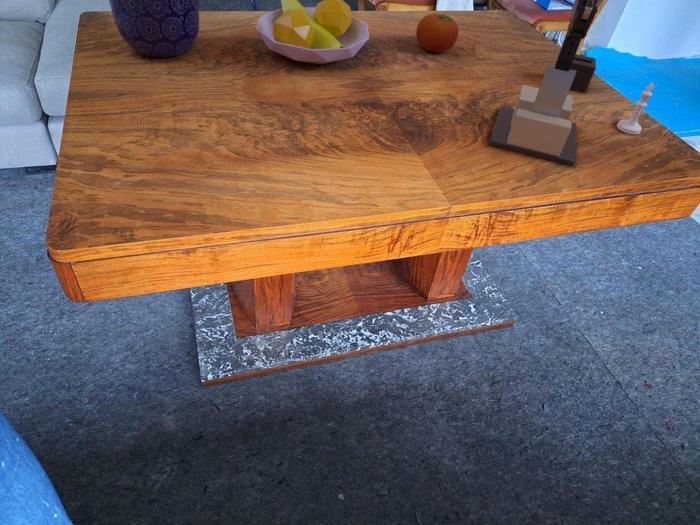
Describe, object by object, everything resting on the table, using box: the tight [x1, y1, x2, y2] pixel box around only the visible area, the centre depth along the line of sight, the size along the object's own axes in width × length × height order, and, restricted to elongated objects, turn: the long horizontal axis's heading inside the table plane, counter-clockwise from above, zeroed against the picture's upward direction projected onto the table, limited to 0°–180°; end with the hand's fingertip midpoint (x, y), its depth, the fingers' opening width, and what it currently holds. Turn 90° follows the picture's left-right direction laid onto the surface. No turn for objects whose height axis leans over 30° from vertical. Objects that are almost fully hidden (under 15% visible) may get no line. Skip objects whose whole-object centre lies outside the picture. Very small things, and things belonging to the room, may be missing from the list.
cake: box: [510, 84, 574, 127], centre depth 102 cm, size 10×7×6 cm
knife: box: [531, 23, 583, 118], centre depth 90 cm, size 5×2×17 cm, turn 71°
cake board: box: [488, 105, 577, 167], centre depth 102 cm, size 16×16×1 cm
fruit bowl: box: [255, 0, 370, 65], centre depth 120 cm, size 28×27×11 cm
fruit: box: [415, 12, 459, 53], centre depth 128 cm, size 11×10×8 cm
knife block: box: [570, 53, 597, 94], centre depth 120 cm, size 8×6×6 cm
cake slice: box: [507, 108, 573, 156], centre depth 96 cm, size 10×3×6 cm, turn 71°
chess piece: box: [616, 82, 655, 135], centre depth 105 cm, size 5×5×10 cm
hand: (566, 56), depth 87 cm, fingers closed on knife, 2 cm apart
